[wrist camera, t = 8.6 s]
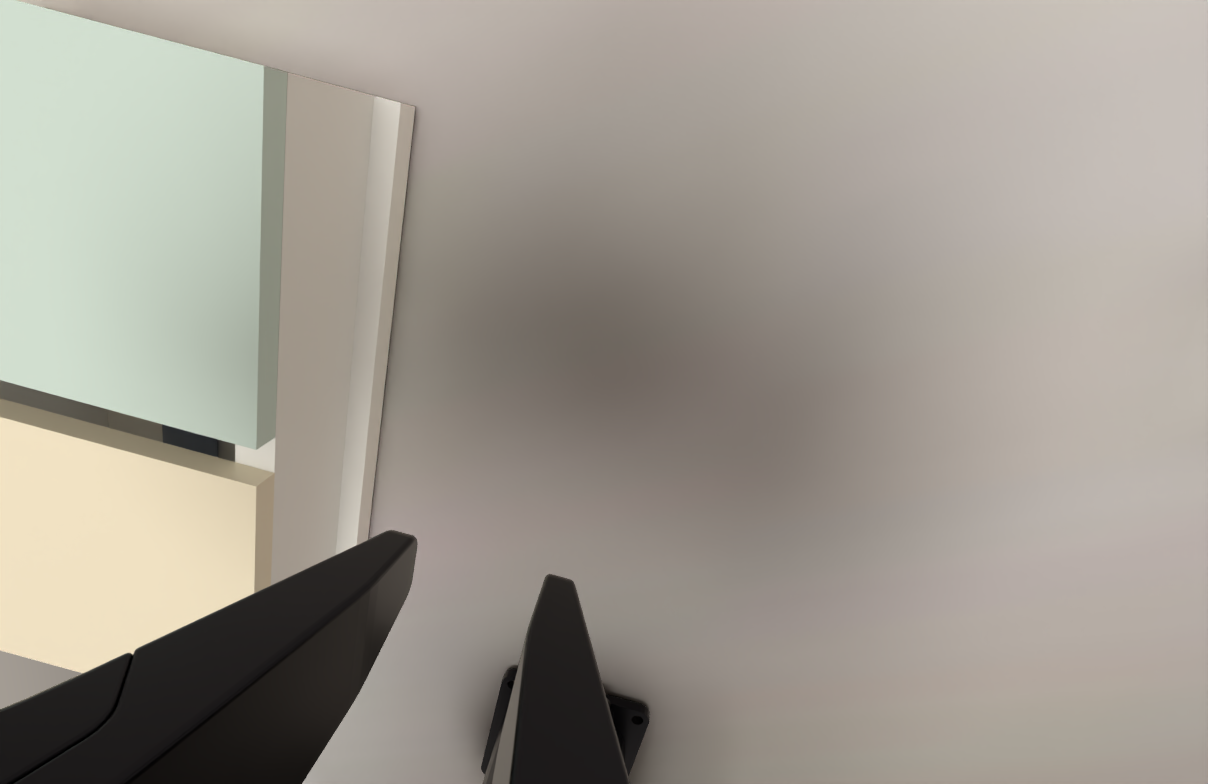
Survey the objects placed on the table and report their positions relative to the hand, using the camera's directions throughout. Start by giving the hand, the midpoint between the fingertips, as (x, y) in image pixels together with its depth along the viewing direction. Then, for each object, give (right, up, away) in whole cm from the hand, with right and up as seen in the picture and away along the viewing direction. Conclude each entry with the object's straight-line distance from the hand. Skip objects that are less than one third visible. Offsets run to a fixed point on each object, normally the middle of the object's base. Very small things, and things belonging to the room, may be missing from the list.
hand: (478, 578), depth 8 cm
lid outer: (-11, +7, +6) cm, 15 cm away
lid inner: (-14, -2, +10) cm, 17 cm away
